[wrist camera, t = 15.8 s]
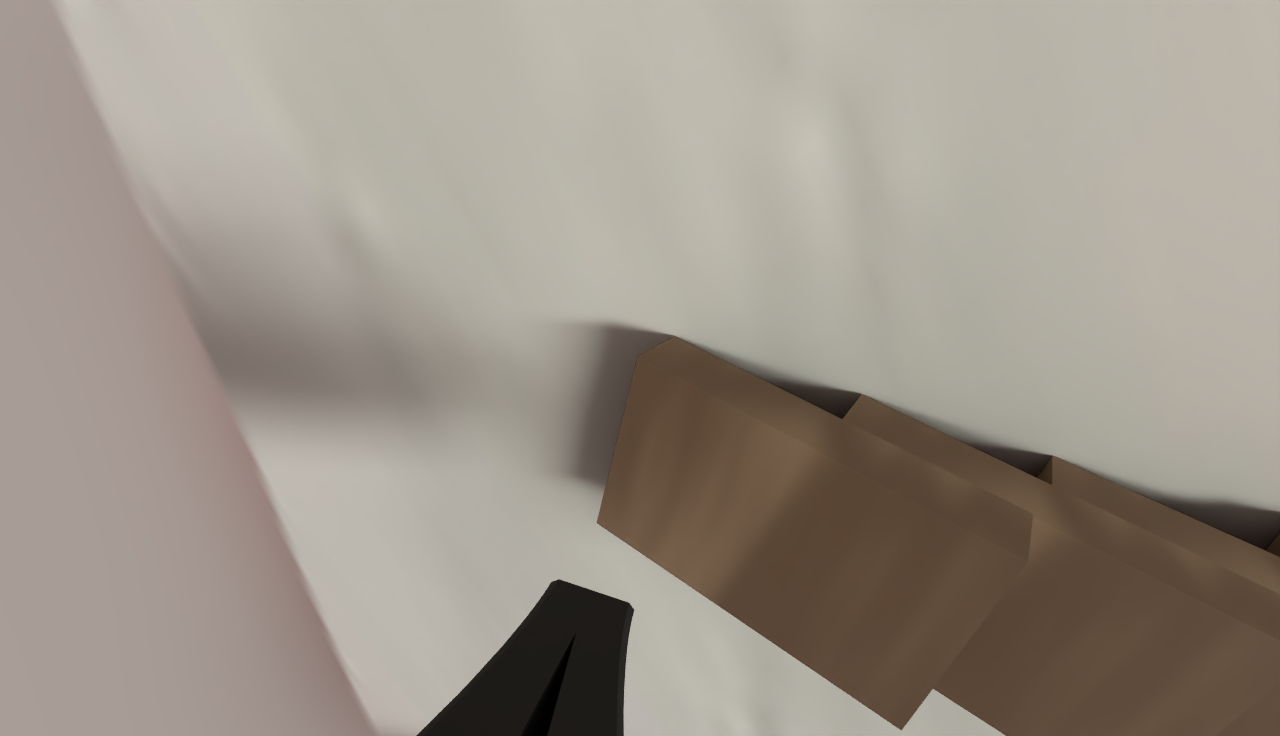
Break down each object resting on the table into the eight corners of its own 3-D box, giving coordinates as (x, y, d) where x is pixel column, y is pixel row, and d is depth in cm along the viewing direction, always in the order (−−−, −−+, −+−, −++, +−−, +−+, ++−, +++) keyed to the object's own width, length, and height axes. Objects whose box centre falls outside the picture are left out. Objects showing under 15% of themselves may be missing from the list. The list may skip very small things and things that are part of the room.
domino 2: (861, 394, 14) (1285, 596, 11) (788, 546, 17) (1118, 747, 14) (841, 420, 13) (1311, 657, 10) (765, 580, 15) (1123, 810, 12)
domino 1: (674, 336, 15) (1033, 513, 11) (631, 493, 17) (916, 675, 14) (637, 356, 13) (1027, 561, 10) (596, 522, 16) (901, 730, 13)
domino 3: (1052, 455, 14) (1541, 673, 11) (950, 601, 16) (1325, 813, 13) (1052, 489, 13) (1603, 746, 10) (941, 642, 15) (1353, 886, 12)
